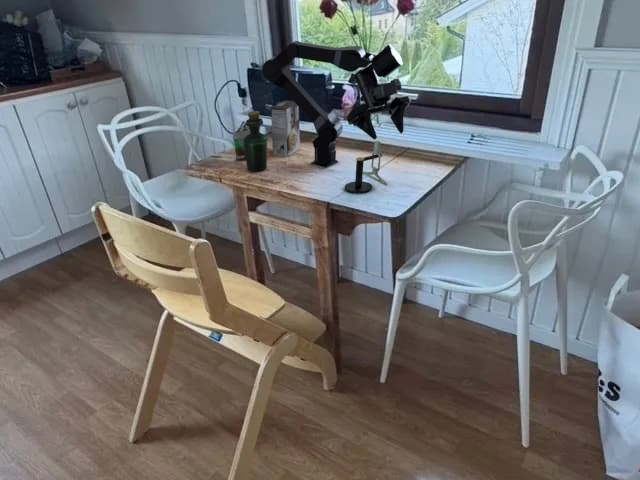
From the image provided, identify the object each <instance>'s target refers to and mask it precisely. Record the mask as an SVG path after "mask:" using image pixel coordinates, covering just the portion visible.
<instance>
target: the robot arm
mask: <svg viewBox="0 0 640 480" xmlns="http://www.w3.org/2000/svg"><path fill="white" fill-rule="evenodd" d="M295 59H302V60H308V61H314V62H320V63H326V64H331V65H333V66H335V67H337V68H338V69H341V70H343V71H345V72H349V73H350V76H349V78H348V80H347V83H349V84H351V85H353V86H355V85H357V87H358V90H359V92H360V95H361V96H360V97H359V100H360V102H364V103H360V104H356V105H353V107H352V108H351V109H350V111H349V112H348V113H347V116H346V121H347V123H348V125H349V126H351V125H353V127H356V128H358V129H360V130H361V131H363V133H365V134H366V135H367V136H369V137H370V138H371V139H372V140H373V141H374V140H375V141H376V139H377V138H378V136H377V132H376V129H375V127H374V124H373V122H372V119H371V116H372V115H374V114H379V113H384V112H388V114H389V115H391V116H389V119H390V120H391V121H392V123H393V125H394V127H395V128H396V129H397V131H398V132H399V134H403V133H404V115H405V114H404V113H405V111H406V110H407V108H408V107H409V106H410V104H411V103H412V100H411V98H410V96H409V95H407V94H403V95H399V96H395V97H394V99H392V97H391V96H394V95H397V94H398V91H401V90H402V82H401V81H400V78H394V79H392V80H390V81H389V82H386V83H380V81H379V79H378V78H381V77H382V78H384V79H386V78H387V77H388V76H389V75H392V73H394V72H395V71H397V70H398V69H399V68H401V67H402V66H403V64H404V63H403V58H402V56H401V55H400V53H399V51H397V50H396V49H395V48H394V47H393V46H392V44H391V43H389V44H387V45H386V46H385V47H384V48H383V49H382V50H380V51H379V52H378V53H377V54H374V53H371V52H367V51H366V50H365V49H364V47H362V46H360V45H350V46H349V45H348V46H341V47H333V46H328V45H321V44H314V43H307V42H301V41H299V40H294V41H292V42H290V43H289V44H288V45H287V47H286V48H284V49H283V50H282V51H281V52H280V53H278V54H277V55H275V56H273V57H271V58H269V59H267V60H266V61H265V62H264V63H263V64H262V67H261V70H262V71H261V74H262V76H263V78H264V79H266V80H267V81H268V82H269V83H271V84H272V85H274V86H276V87H278V88H280V89H282V90H283V92H285V93H286V95H287V96H289V98H290V100H291V101H294V102H295V103H296V104H297V105H298V106H299V110H301V111H302V112H303V113H304V115H306V116H307V118H308V119H310V121H311V122H312V124H313V127H314V130H315V132H316V133H317V135H318V136H316V138H314V139H313V141H312V145H313V148H314V160H313V161H311V162H310V164H311V165H313V166H318V167H321V168H328V167H330V166H332V165H335V164H337V163H338V162H339V161H338V160H337V159H336V158H337V150H336V144H335V143H334V142H336V140H337V139H338V138H339V137H340V136H341V134H342V133H343V129H344V128H343V127H344V126H343V123H342V118H340V117H339V116H337V114H336V113H335V111H334V110H331V111H330V112H327V111H325V110H323V108H322V107H321V106H320V105H319V104H318V103H317V101H316V100H314V99H313V97H312V96H311V95H310V94H309V92H307V91H306V90H305V89H304V88H303V86H302V85H301V84H300V83H299V82H298V81H297V79H295V77H294V76H293V73H292V71H291V68H290V66H289V65H290V64H291V63H292V62H293V61H294V60H295ZM358 69H359V70H358ZM356 71H357V72H356ZM353 72H354V73H353ZM390 100H392V101H391V102H389V101H390Z"/></svg>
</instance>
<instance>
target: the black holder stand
mask: <svg viewBox="0 0 640 480" xmlns="http://www.w3.org/2000/svg"><path fill="white" fill-rule="evenodd" d="M379 154H381V158H382V157H383V156H384V154H383V153H381V152H380V153H379ZM372 159H379V156H378V155H376V154H374V155H372V154H371V155H369V156H368V155H367V156H365V157H364V156H359V157H356V159H355V162H356V165H355V179H354V180H355V181H350V182H347V183H346V184H345V185H344V191H345V192H347V193H350V194H353V195H354V194H355V195H360V194H361V195H363V194H367V193H369V192H371V191H372V190H373V184H372V183H370V182H367V181H363V175H364V174H363V172H364V162H367V161H372Z"/></svg>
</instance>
